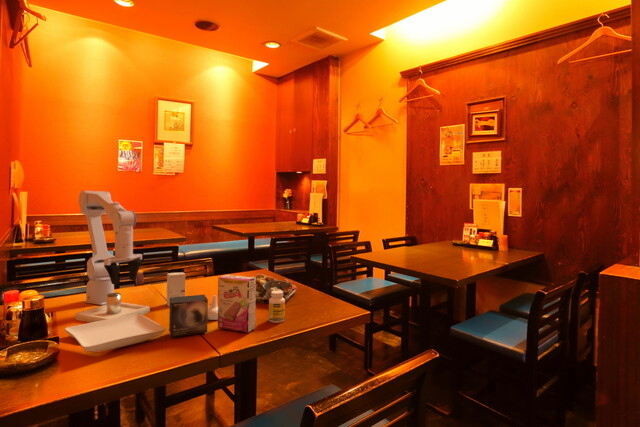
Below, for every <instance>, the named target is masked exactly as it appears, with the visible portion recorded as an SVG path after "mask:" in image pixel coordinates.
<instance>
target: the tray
mask: <svg viewBox="0 0 640 427" xmlns="http://www.w3.org/2000/svg"><path fill="white" fill-rule="evenodd" d="M150 308H151V305H150V306H149V305H143V304H142V305H141V304H134V303H128V302H122V301H121V313H119V314H113V315H108V314H107V304H104V305H99V306H97V307H94V308H89V309H85V310H83V311H79V312H76V313H74V320H76V321H80V322H81V321H82V322H87V323H91V322H96V321H102V320H107V319H112V318H118V317H124V316H129V315H135V314H141V315H143V316H144V315H145V314H148V313H150V312H151V309H150Z"/></svg>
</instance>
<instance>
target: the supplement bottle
mask: <svg viewBox="0 0 640 427" xmlns="http://www.w3.org/2000/svg"><path fill="white" fill-rule="evenodd" d="M271 296H272V298H270V299H269V304H268V321H269V322H270V323H272V324H273V323H275V324H278V323H282V322H284V321H285V318H286V317H285V316H286V315H285V314H286V313H285V311H286V310H285V309H286V304H285V299H284V298H282V297H283V291H272V292H271Z"/></svg>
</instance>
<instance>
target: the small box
mask: <svg viewBox="0 0 640 427" xmlns="http://www.w3.org/2000/svg"><path fill="white" fill-rule="evenodd" d="M208 301H209V299H208V297H207V296H206V295H205V294H195V295H185V296H182V297H171V298H170V307H169V319H168V320H169V322H168V323H169V324H168V325H169V326H168V331H169V334H170V337H171V338H176V337H183V336H188V335H189V336H190V335H198V334H204V333H208V307H209V304H208V303H209V302H208Z"/></svg>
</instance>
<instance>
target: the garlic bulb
mask: <svg viewBox="0 0 640 427" xmlns="http://www.w3.org/2000/svg"><path fill="white" fill-rule="evenodd" d="M217 297H218V294H214V295H212V298H211V302H210V305H208V319H207V321H215V320H217V321H218V302H217Z"/></svg>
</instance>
